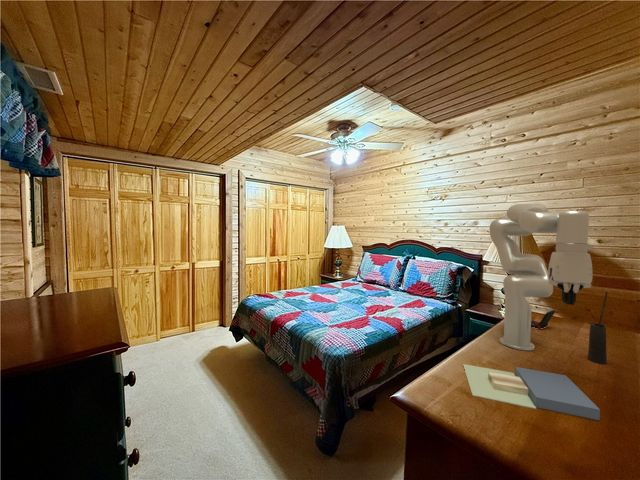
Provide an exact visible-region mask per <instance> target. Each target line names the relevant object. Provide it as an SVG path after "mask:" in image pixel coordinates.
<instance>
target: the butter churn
mask: <svg viewBox="0 0 640 480" xmlns="http://www.w3.org/2000/svg"><path fill="white" fill-rule="evenodd" d="M607 297H608V291H606V292H605V295H604V299H603V301H602V302H603V303H602V307H601V308H602V309H601V311H600V316H599V321H598V323H592V322H591V321H588V322H587V323H588V324H589V325H590V326H589V335H588V336H589V337H588V338H589V339H588V352H587V359H588V360H590V361H592V362H594V363H595V364H600V365H607V364H608V356H607V341H608V340H607V327H606V325H605V324H602V318H603V314H604V310H605V305H606V301H607Z"/></svg>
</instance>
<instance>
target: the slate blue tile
mask: <svg viewBox="0 0 640 480" xmlns="http://www.w3.org/2000/svg"><path fill="white" fill-rule="evenodd" d="M514 368H515V371H514V374H515V376H516V377H520V378H521V380H522V381H523V382H524V384H525V385H526V386H527V388H528V389H529V391H528V396H529V398H530V399H531V401H532V402H533V404H534V405H535V407H536V409H543V410H547V411H552V412H558V413H561V414H567V415H571V416H576V417H581V418H586V419H590V420H591V419H592V420H595V421H600V419H601V409H600V408H599V407H598V406H597V405H596V404H595V403H594V402H593V401H592V400H591V399H590V398H589V397H588V396H587V395H586V394H585V393H584V392H583V391H582V390H581V389H580V388H579V387H578V386H577V385H576V384H575V383H574V382H573V381H572V380H571V379H570V378H569V377H568V376H567V375H566V374H562V373H561V374H559V373H555V372H554V373H553V372H549V371H542V370H536V369H531V368H530V369H528V368H524V367H520V366H518V367H517V366H515V367H514Z"/></svg>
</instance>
